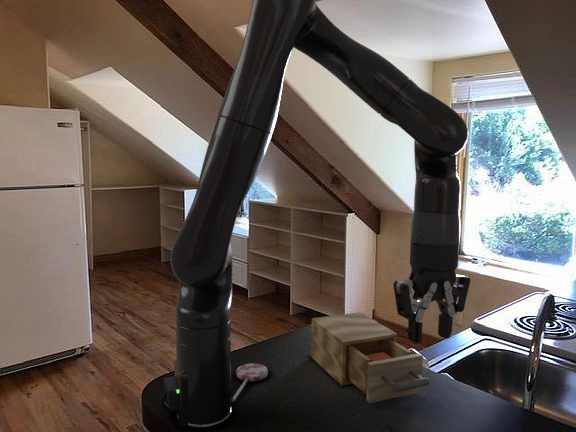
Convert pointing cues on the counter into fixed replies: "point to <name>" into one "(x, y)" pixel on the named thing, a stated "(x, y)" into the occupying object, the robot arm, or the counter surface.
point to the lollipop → (250, 375)
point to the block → (378, 356)
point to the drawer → (384, 370)
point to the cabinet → (343, 340)
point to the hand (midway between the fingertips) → (429, 339)
